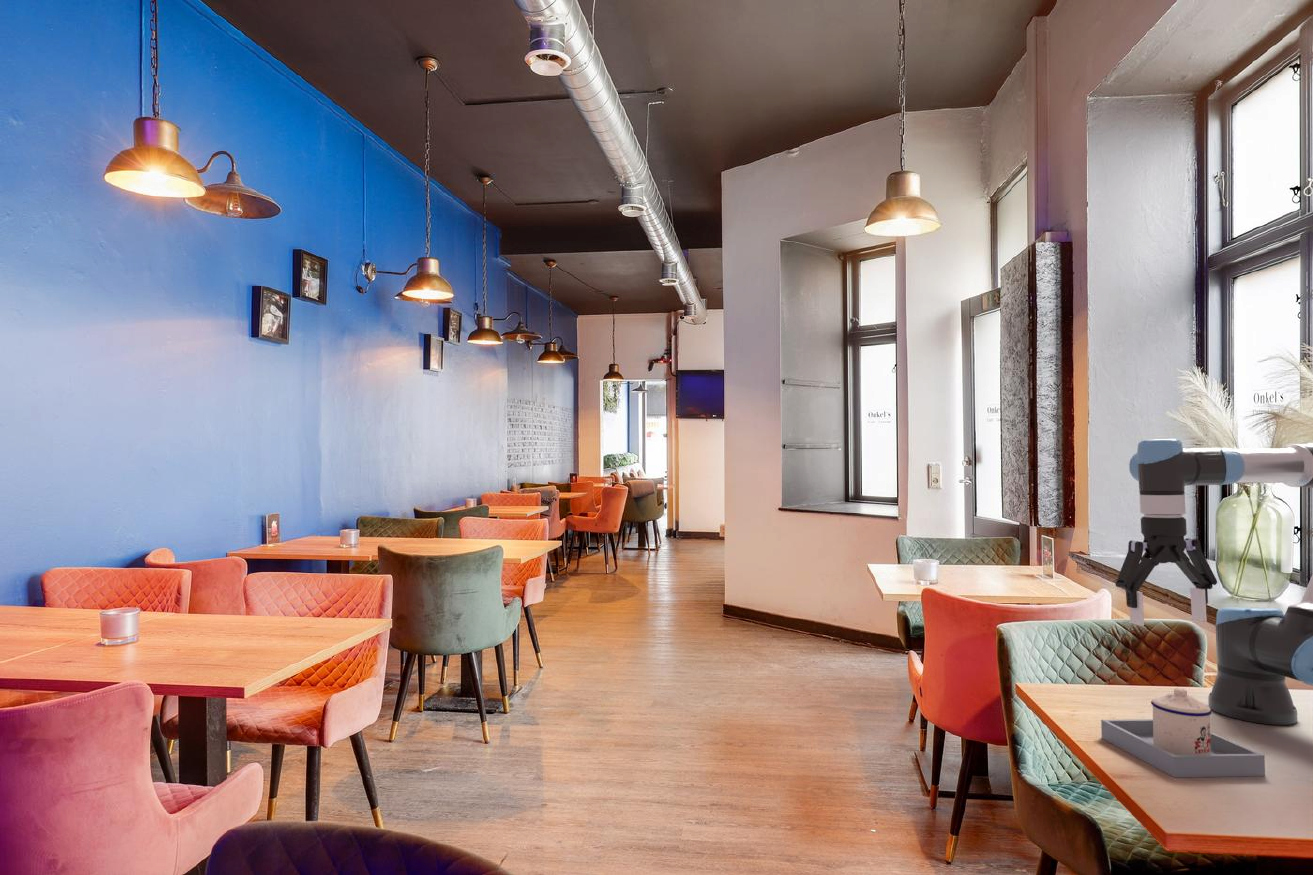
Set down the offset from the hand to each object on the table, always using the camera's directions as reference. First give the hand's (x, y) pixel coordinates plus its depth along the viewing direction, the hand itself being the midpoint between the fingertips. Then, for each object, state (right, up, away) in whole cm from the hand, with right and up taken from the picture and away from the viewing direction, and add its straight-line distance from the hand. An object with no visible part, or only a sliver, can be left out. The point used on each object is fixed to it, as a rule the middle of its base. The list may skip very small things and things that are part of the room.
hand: (1168, 622), depth 145 cm
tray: (-5, -22, -10) cm, 25 cm away
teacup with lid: (-4, -22, -10) cm, 24 cm away
